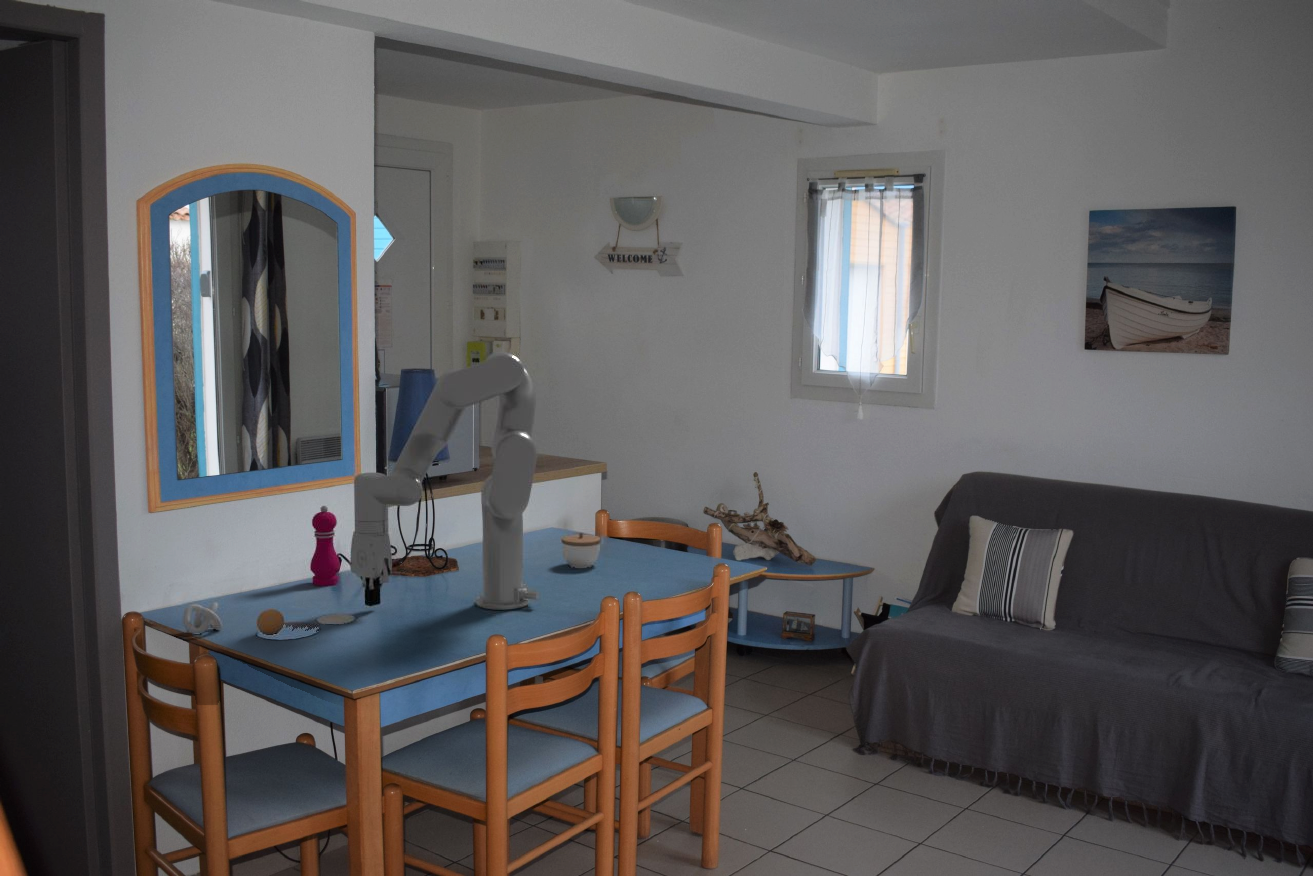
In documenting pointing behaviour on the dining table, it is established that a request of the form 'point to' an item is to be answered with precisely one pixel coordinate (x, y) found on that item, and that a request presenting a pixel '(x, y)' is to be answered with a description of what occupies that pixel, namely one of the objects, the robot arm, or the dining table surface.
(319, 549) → the pepper mill
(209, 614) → the knot
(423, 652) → the dining table surface
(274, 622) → the ball
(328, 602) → the dining table surface
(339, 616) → the plain round gray disc
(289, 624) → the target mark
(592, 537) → the lidded jar
